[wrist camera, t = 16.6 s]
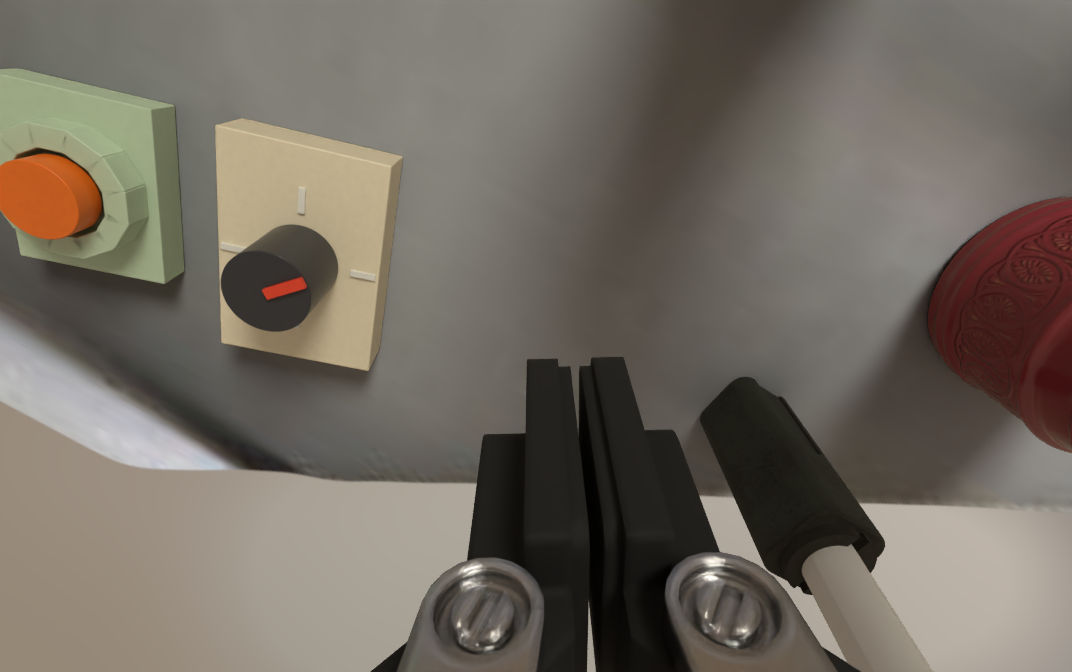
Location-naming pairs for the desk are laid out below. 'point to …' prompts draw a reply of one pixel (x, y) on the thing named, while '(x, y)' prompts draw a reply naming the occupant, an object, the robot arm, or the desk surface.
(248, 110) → the desk surface
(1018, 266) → the kitchen canister
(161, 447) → the desk surface
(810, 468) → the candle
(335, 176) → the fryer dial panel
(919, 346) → the desk surface
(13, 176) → the button
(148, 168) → the button block
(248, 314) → the knob
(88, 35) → the desk surface
